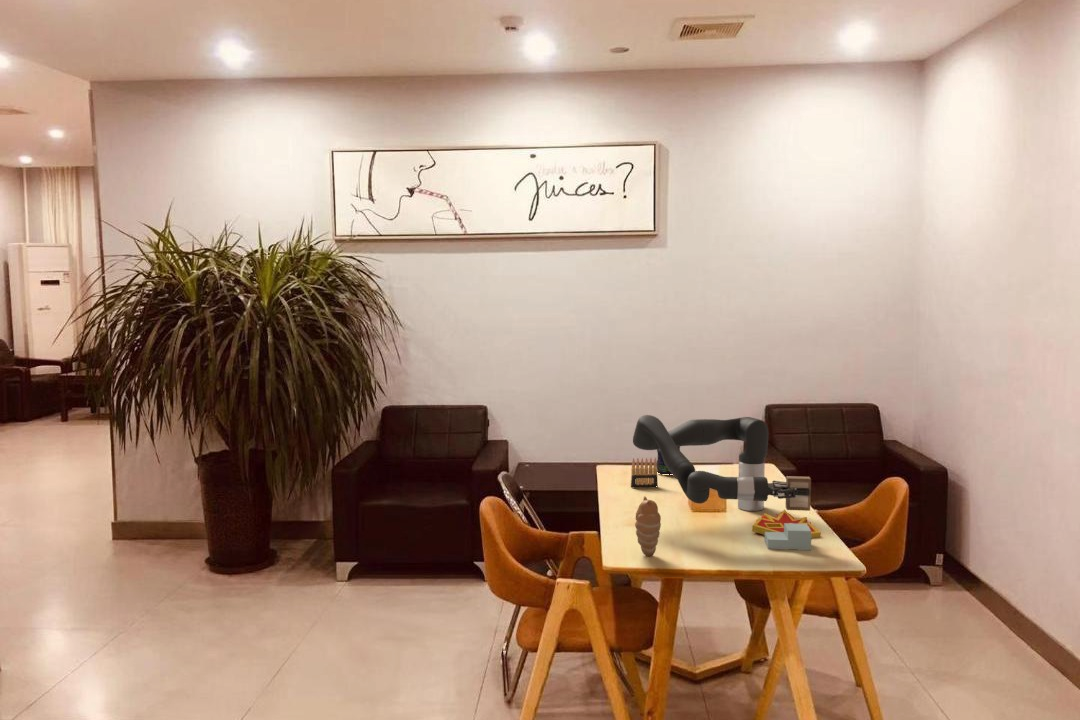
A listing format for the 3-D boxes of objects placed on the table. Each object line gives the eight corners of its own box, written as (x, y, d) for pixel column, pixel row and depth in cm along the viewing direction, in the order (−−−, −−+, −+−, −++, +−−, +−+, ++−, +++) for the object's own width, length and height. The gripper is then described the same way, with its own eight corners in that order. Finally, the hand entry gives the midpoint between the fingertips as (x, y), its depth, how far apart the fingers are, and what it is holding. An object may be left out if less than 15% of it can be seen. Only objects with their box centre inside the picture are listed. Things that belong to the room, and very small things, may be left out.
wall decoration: (822, 517, 301) (822, 505, 301) (820, 545, 272) (820, 531, 272) (759, 513, 308) (759, 501, 308) (750, 540, 279) (750, 526, 279)
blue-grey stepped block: (764, 540, 275) (764, 522, 275) (806, 542, 273) (806, 523, 273) (767, 548, 267) (768, 530, 267) (810, 550, 266) (811, 531, 265)
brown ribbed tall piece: (631, 552, 265) (631, 495, 263) (655, 550, 266) (655, 493, 265) (640, 561, 256) (641, 502, 254) (665, 559, 258) (666, 501, 256)
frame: (785, 507, 271) (786, 476, 270) (808, 507, 270) (809, 476, 269) (787, 510, 268) (787, 478, 267) (810, 510, 267) (811, 479, 266)
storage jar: (668, 469, 376) (668, 436, 374) (684, 473, 368) (685, 439, 366) (651, 472, 370) (652, 438, 368) (667, 477, 362) (668, 442, 360)
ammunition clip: (631, 487, 344) (631, 458, 343) (630, 486, 346) (630, 457, 345) (657, 487, 345) (658, 458, 343) (656, 486, 347) (657, 457, 345)
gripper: (748, 494, 277) (803, 496, 275) (753, 506, 263) (811, 508, 261) (749, 471, 277) (804, 473, 274) (754, 482, 263) (812, 484, 260)
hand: (807, 490), depth 268 cm, fingers closed on frame, 3 cm apart
